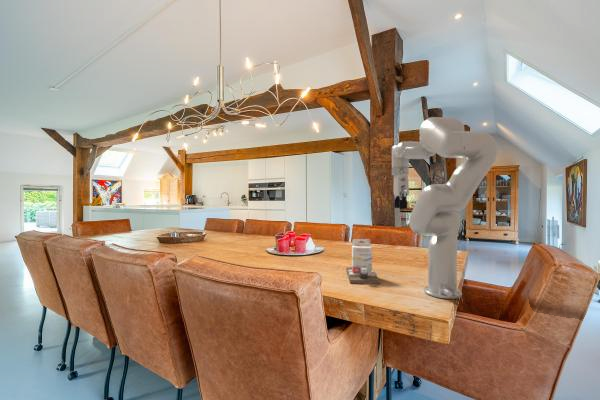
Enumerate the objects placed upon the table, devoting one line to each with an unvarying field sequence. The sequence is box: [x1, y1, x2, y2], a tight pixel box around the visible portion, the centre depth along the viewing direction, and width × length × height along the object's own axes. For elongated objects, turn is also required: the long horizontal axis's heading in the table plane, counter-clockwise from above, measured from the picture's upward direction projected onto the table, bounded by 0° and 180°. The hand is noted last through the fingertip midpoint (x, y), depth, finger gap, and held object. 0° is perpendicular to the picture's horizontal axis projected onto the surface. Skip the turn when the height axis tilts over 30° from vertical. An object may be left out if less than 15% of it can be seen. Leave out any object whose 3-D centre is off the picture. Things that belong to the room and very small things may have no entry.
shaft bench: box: [345, 266, 380, 285], centre depth 131 cm, size 21×12×6 cm, turn 175°
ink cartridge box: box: [351, 238, 373, 274], centre depth 131 cm, size 9×5×15 cm, turn 85°
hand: (400, 208), depth 136 cm, fingers open, 9 cm apart
